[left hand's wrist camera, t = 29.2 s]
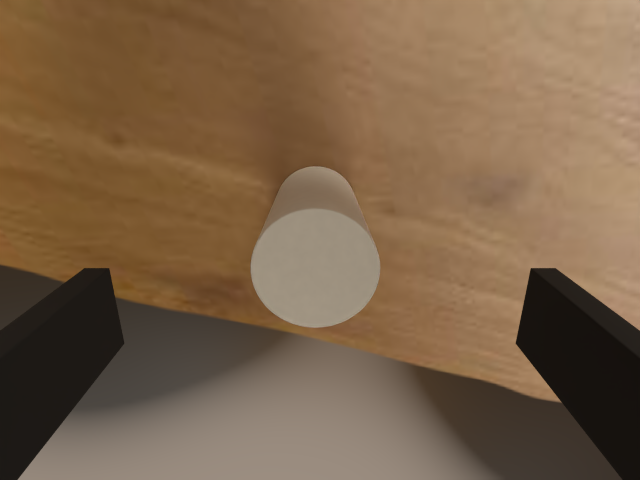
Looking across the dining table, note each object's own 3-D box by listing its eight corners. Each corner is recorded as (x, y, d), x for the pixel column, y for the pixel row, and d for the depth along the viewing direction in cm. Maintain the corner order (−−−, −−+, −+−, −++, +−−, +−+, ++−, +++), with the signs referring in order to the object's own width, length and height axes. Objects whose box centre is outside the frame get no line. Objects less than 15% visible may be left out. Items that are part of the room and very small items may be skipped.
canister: (330, 256, 28) (339, 347, 17) (262, 221, 27) (228, 294, 17) (370, 191, 26) (405, 247, 16) (299, 150, 25) (288, 183, 15)
